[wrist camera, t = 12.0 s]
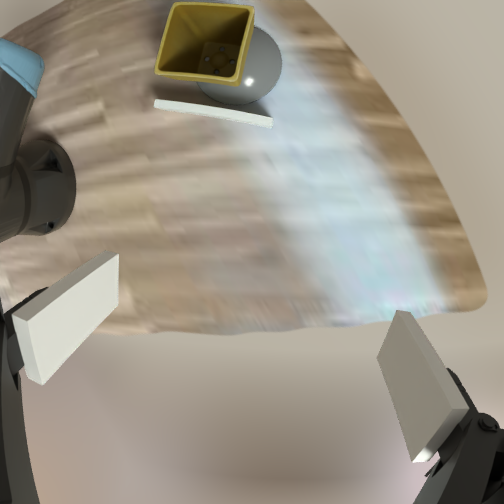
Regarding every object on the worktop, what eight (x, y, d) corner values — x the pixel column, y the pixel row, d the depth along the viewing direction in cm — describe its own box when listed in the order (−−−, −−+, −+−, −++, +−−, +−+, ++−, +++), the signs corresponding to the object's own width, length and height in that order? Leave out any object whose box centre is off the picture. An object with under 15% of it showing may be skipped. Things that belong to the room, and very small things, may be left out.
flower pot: (194, 27, 33) (172, 0, 24) (261, 34, 33) (255, 5, 24) (179, 88, 36) (152, 74, 27) (247, 97, 36) (236, 82, 27)
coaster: (186, 98, 37) (184, 97, 36) (205, 22, 33) (204, 20, 33) (271, 112, 37) (271, 111, 36) (289, 34, 33) (289, 32, 32)
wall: (165, 110, 38) (153, 107, 34) (167, 103, 37) (155, 99, 33) (272, 128, 37) (270, 126, 33) (273, 121, 37) (272, 118, 33)
